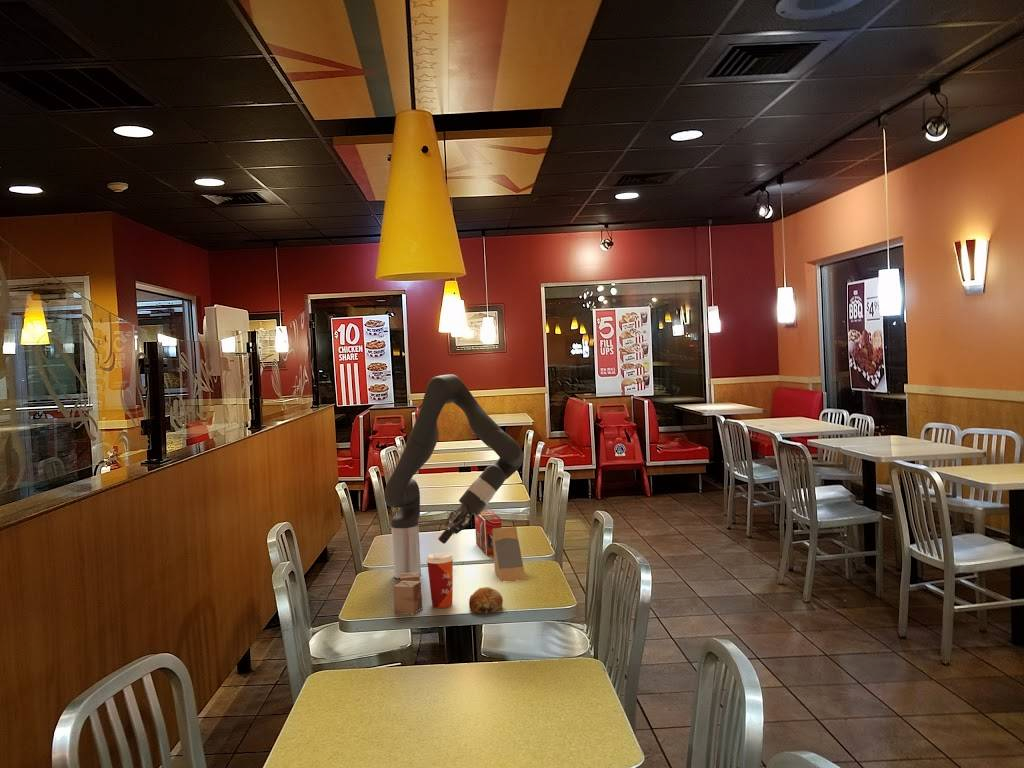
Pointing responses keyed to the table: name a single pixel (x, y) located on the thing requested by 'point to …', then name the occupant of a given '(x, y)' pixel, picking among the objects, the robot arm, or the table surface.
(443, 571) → the coffee cup
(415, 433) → the robot arm
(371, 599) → the table surface
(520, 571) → the sandwich container
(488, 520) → the ice cream box
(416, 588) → the three-dot block
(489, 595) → the bread roll
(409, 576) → the two-dot block
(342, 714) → the table surface
